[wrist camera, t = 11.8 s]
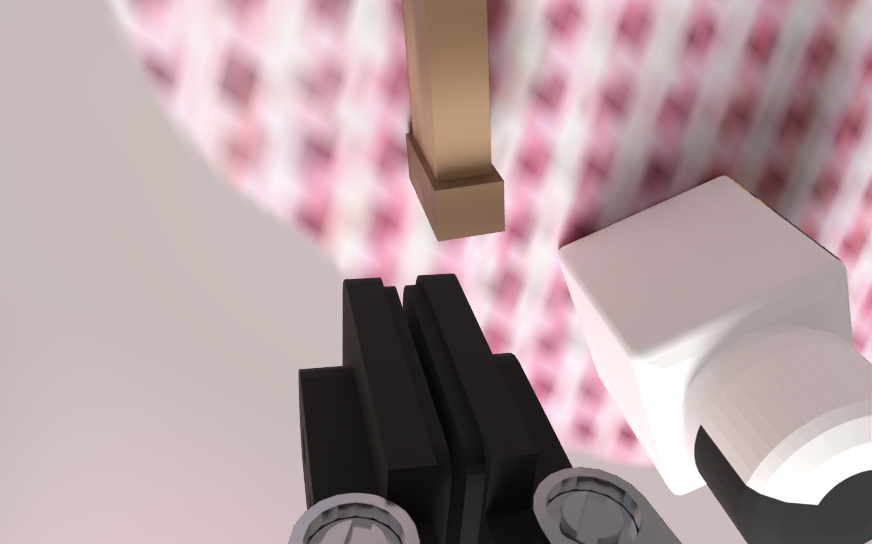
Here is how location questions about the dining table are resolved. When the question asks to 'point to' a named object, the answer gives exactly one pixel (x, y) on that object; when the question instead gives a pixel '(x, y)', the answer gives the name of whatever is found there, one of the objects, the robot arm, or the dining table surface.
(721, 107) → the dining table surface
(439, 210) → the tan wooden plank
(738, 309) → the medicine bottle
